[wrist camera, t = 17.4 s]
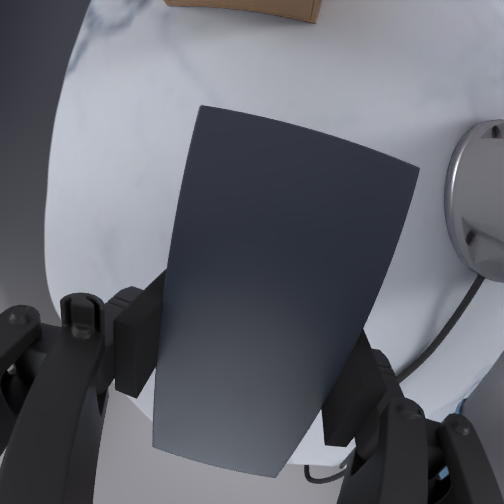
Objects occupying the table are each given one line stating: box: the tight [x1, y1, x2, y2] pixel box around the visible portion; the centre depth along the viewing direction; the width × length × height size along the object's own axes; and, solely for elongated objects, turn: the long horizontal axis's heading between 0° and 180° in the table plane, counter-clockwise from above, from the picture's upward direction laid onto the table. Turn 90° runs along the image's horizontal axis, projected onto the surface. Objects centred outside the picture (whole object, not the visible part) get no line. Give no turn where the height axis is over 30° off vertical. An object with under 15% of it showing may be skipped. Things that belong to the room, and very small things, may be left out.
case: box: [153, 105, 420, 478], centre depth 11 cm, size 14×6×5 cm, turn 165°
